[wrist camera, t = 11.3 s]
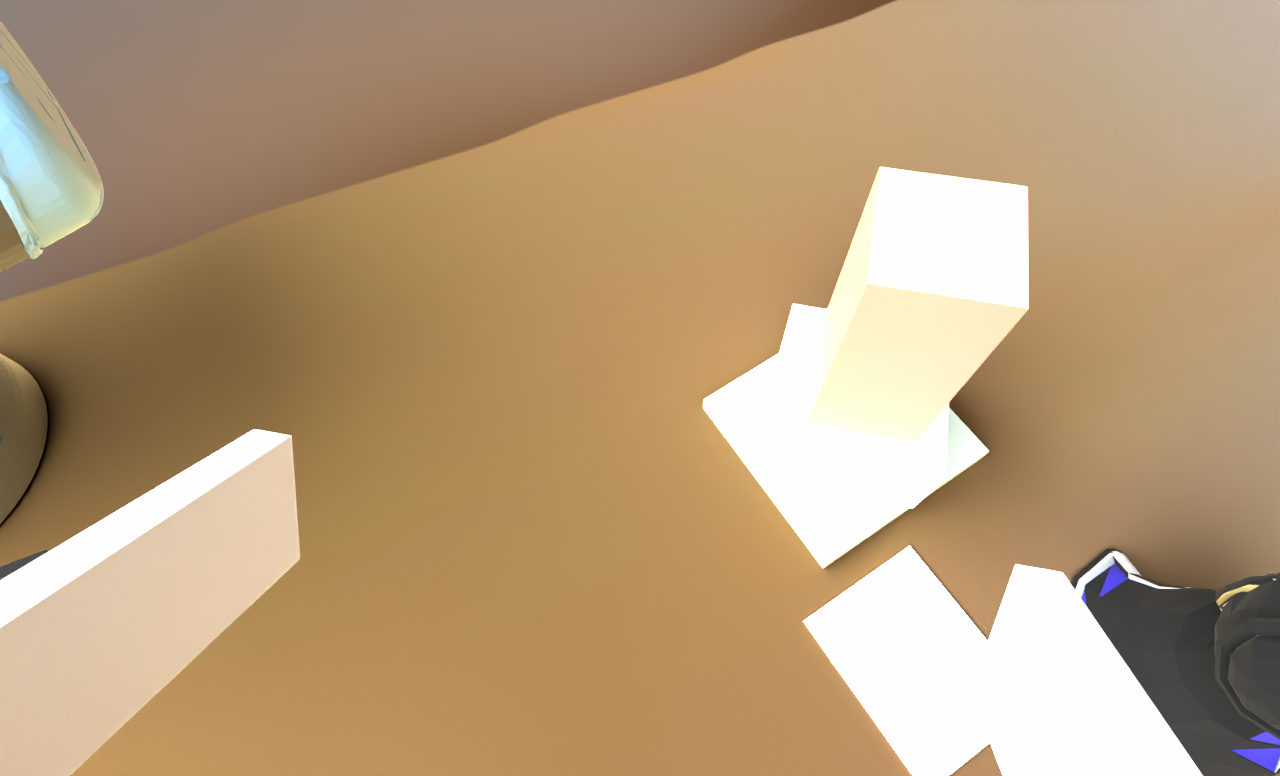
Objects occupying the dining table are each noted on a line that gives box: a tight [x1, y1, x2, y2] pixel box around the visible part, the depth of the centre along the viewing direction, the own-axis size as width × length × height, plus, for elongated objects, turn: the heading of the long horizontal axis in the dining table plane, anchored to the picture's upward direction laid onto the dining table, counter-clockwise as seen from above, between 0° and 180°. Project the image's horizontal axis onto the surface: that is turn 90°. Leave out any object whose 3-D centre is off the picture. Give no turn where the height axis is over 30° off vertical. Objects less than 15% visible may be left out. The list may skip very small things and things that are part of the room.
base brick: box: [760, 304, 949, 509], centre depth 37 cm, size 8×8×5 cm
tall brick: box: [806, 167, 1029, 444], centre depth 29 cm, size 5×5×12 cm
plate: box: [703, 353, 990, 569], centre depth 40 cm, size 11×11×1 cm
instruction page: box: [803, 545, 990, 776], centre depth 35 cm, size 9×7×1 cm
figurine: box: [1071, 549, 1280, 776], centre depth 27 cm, size 8×12×15 cm
